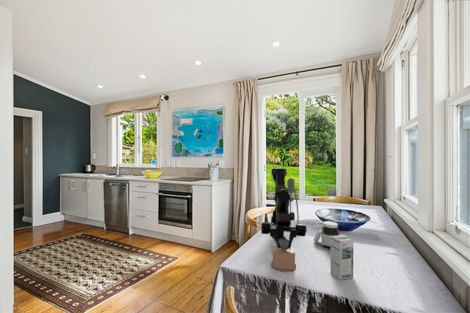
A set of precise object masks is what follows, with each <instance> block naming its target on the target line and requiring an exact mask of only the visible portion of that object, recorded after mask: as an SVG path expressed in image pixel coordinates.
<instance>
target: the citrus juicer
mask: <svg viewBox="0 0 470 313" xmlns="http://www.w3.org/2000/svg"><path fill="white" fill-rule="evenodd" d="M286 181H287V182H286V184H287V186H286V187H287V189H288V193H290V195H291V196H292V195H293V194H294V198H295V206H296V214H297V215H296V216H297V220H296V221H297V223H298V222H299V219H300V218H299V215H300V214H299V204H298V197H297V193H296V188H295V184H296V183H295V180H294V178H291V177H289V178H288V179H287V180H286ZM290 212H292V200H291V201H290V205H289V213H290ZM290 222H291V224H290V226H292V220H290Z"/></svg>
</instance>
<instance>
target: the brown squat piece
mask: <svg viewBox="0 0 470 313" xmlns="http://www.w3.org/2000/svg"><path fill="white" fill-rule="evenodd" d="M272 256H273V258H272V260H271V262H270V263H271V266H270V267H272V269H275V270H276V271H279V272H286V273H288V272H294V271H296V269H297V264H296V253H295V250H294V247H293V246H291V248H290V250H289V249H286V250H285V251H282V249H280V248H279V249H278V247H277V245H273V255H272Z"/></svg>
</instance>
